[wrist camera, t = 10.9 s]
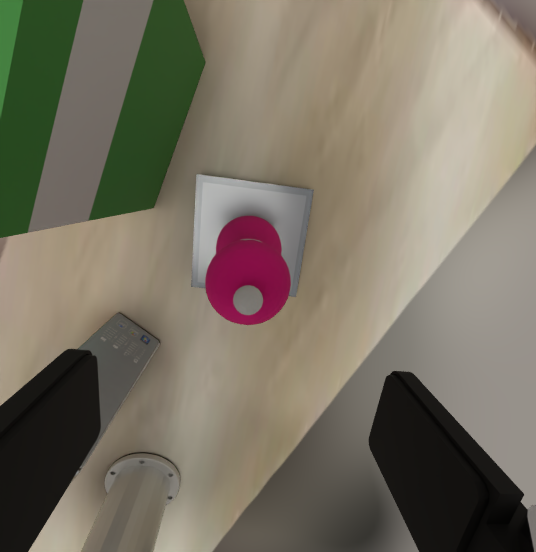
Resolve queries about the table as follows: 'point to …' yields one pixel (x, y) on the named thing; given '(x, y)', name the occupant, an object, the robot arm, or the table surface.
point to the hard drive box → (118, 365)
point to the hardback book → (90, 106)
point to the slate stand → (249, 202)
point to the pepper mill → (248, 272)
